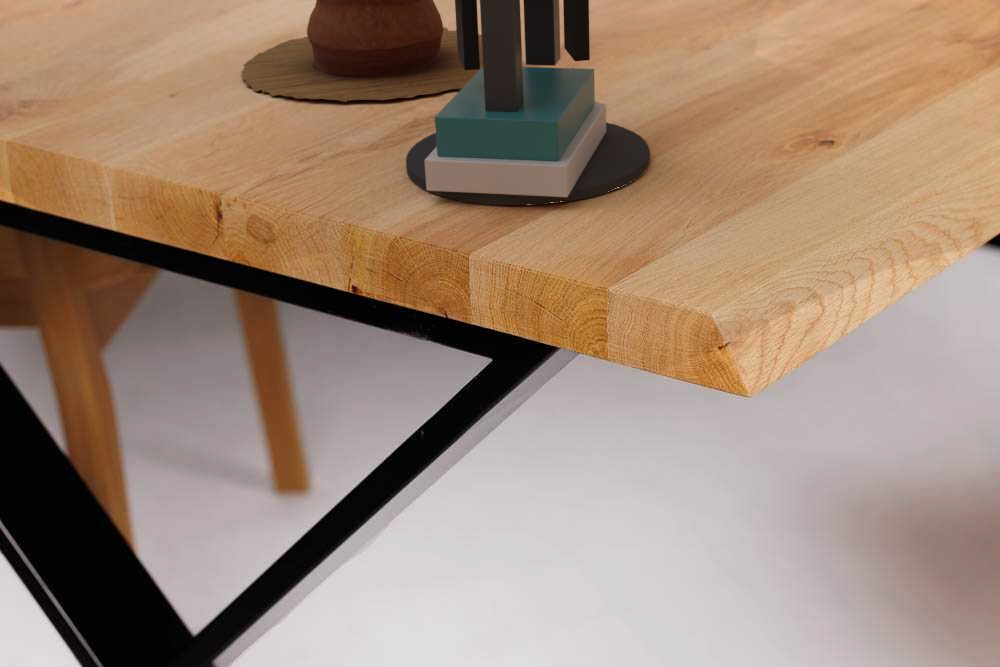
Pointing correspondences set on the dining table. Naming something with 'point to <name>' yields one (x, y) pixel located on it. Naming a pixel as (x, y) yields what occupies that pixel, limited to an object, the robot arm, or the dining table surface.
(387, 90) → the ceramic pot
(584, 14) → the robot arm
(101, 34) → the dining table surface
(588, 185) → the swivel rest
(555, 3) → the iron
